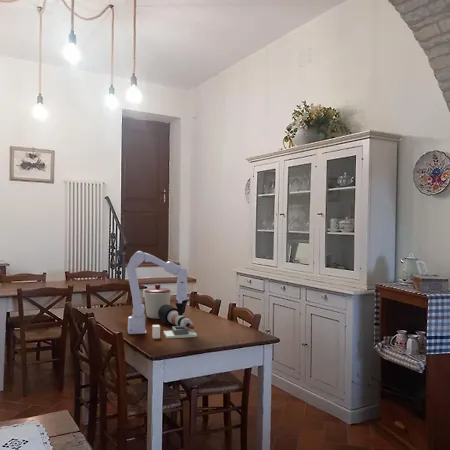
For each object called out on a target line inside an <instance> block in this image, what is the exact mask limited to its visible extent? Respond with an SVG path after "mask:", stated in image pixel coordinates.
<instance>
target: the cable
mask: <svg viewBox="0 0 450 450" xmlns="http://www.w3.org/2000/svg"><path fill="white" fill-rule="evenodd" d="M158 316H159V318H160V319H159V320H161V321H162V322H164V323H166V324H167V325H169V326H174V325H175V326H186V327H187V328H188V330H194V328H195V326H194V324H193V321H192V320H191V319H190V318H188V317H186V316H185V315H184V314H183V315H182V316H179V315H178V310H177V307H174V306H172V305H171V304H170V305H168V304H165V305H163V306H161V307H160V308H159V311H158Z"/></svg>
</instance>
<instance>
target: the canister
mask: <svg viewBox="0 0 450 450" xmlns="http://www.w3.org/2000/svg"><path fill="white" fill-rule="evenodd" d="M142 292H143V294H144V295H143V296H144V306H145V313H146V314H145V315H146V316H147V318H149V319H153V320H156V319H157V320H161V319H160V318H159V316H158V311H159V308H160V307H161V306H163V305H165V304H168V305H171V295H172V293H173V291H172V290H171V289H169V288H165V287H161V284H159V283H156V284H155V285H154V287H152V288H147V289H144V290H143V291H142Z"/></svg>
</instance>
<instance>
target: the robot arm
mask: <svg viewBox="0 0 450 450" xmlns="http://www.w3.org/2000/svg"><path fill="white" fill-rule="evenodd" d="M143 262H144V263H153V264H155V265H157V266H159V267H161V268H163V269H164V271H165V272H166V273H169V274H171V275H173V276H177V280H176V297H175V298H176V301H177V302H176V301H175V303H174V304H175V306H176V307H175V308H176V309H177V310H178V315H179V316H182V315H183V316H184V314H185V312H186V307H187V303H188V302H189V299H190V297H188V275H189V273H188V271H187V269H186V268H185V267H182V265H178V264H176V263H174V261H169V260H168V261H167V262H166V261H164V260H162V259H160V258H158V257H156V256H155V255H152V254H150V253H147V252H144V251H142V250H137V251H136V252H134V254H133V255H132V256H130V259H129V261H128V263H127V265H126V272H127V278H128V282H129V283H128V284H129V288H130V294H131V298H132V306H133V307H132V309H131V311H132V314H131V316H128V317H127V333H128V335H134V334H135V335H137V334H138V335H140V334H147V330H146V314H145V311H146V307H145V303H143V300H142V295H141V290H140V286H139V281H138V280H139V279H138V276H137V270H136V269H137V268H138V267H139V265H141V264H142V263H143Z"/></svg>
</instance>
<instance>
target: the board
mask: <svg viewBox="0 0 450 450" xmlns="http://www.w3.org/2000/svg"><path fill="white" fill-rule="evenodd" d="M163 335H164V336H165V338H166V339H181V338H183V339H184V338H197V337H198V334H197V333H196V332H195V331H194V329H190V330H188V328H187V327H186V326H176V325H175V326H171V330H163Z"/></svg>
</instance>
